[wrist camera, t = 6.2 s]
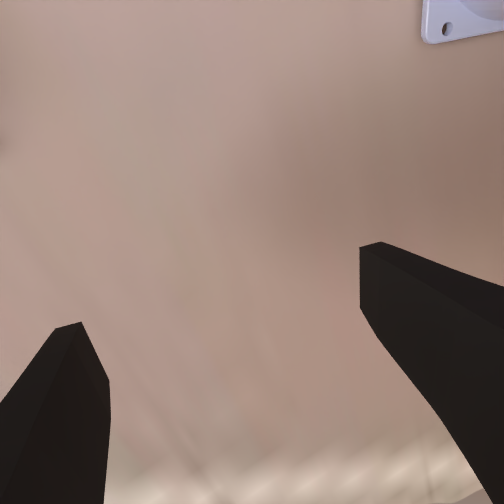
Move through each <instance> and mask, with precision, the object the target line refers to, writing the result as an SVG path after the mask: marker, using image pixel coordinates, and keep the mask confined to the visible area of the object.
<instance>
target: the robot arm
mask: <svg viewBox="0 0 504 504" xmlns="http://www.w3.org/2000/svg"><path fill="white" fill-rule="evenodd" d="M445 23H446V24H447V29H446V32H445V33H444V34H442V27H443V25H444V24H445ZM503 30H504V0H423V10H422V26H421V37H422V39H423V41H424V42H425V43H427V44H438V43H443V42H448V41H453V40H458V39H463V38H468V37H473V36H478V35H483V34H488V33H493V32H498V31H503ZM359 249H360V309H361V310H362V312H363V314H364V316H365V317H366V319H367V321H368V323H369V325H370V326H371V328H372V329H373V331H374V333H375V334H376V336H377V338H378V339H379V340H380V342H381V343H382V344H383V346H384V347H385V348H386V350H387V351H388V352H389V353H390V355H391V356H392V357H393V359H394V360H395V361H396V362H397V364H398V365H399V366H400V367H401V369H402V370H403V371H404V372H405V374H406V375H407V376H408V378H409V379H410V380H411V381H412V383H413V384H414V385H415V386H416V388H417V389H418V390H419V391H420V393H421V394H422V395H423V396H424V398H425V399H426V400H427V402H428V403H429V404H430V405H431V407H432V408H433V409H434V411H435V412H436V414H437V415H438V416H439V418H440V419H441V421H442V422H443V424H444V425H445V427H446V428H447V430H448V431H449V433H450V434H451V436H452V438H453V439H454V441H455V442H456V444H457V445H458V447H459V449H460V450H461V452H462V453H463V455H464V456H465V458H466V460H467V461H468V463H469V465H470V466H471V468H472V469H473V471H474V473H475V474H476V476H477V478H478V479H479V481H480V483H481V484H482V486H483V488H484V489H485V491H486V492H487V494H488V496H489V498H490V499H491V501H492V503H493V504H504V287H503V286H500V285H497V284H494V283H491V282H488V281H485V280H482V279H479V278H476V277H473V276H471V275H468V274H465V273H462V272H459V271H457V270H454V269H451V268H449V267H446V266H444V265H441V264H439V263H436V262H433V261H431V260H428V259H426V258H423V257H421V256H418V255H416V254H413V253H411V252H408V251H406V250H403V249H401V248H398V247H395V246H393V245H390V244H387V243H384V242H377V243H374V244H370V245H366V246H362V247H359ZM110 424H111V407H110V386H109V379H108V377H107V375H106V373H105V370H104V368H103V366H102V364H101V362H100V360H99V358H98V356H97V354H96V352H95V349H94V347H93V345H92V343H91V341H90V339H89V337H88V335H87V333H86V330H85V328H84V326H83V324H82V322H78V323H75V324H71V325H67V326H63V327H60V328H56V329H55V330H54V331H53V332H52V333H51V335H50V336H49V337H48V339H47V340H46V341H45V343H44V344H43V346H42V347H41V348H40V350H39V351H38V353H37V354H36V355H35V357H34V358H33V359H32V361H31V362H30V364H29V365H28V366H27V368H26V369H25V371H24V372H23V373H22V375H21V376H20V377H19V379H18V380H17V381H16V383H15V384H14V385H13V387H12V388H11V389H10V391H9V392H8V393H7V395H6V396H5V397H4V399H3V400H2V401H1V403H0V504H103V503H104V492H105V481H106V470H107V460H108V448H109V437H110Z"/></svg>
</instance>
